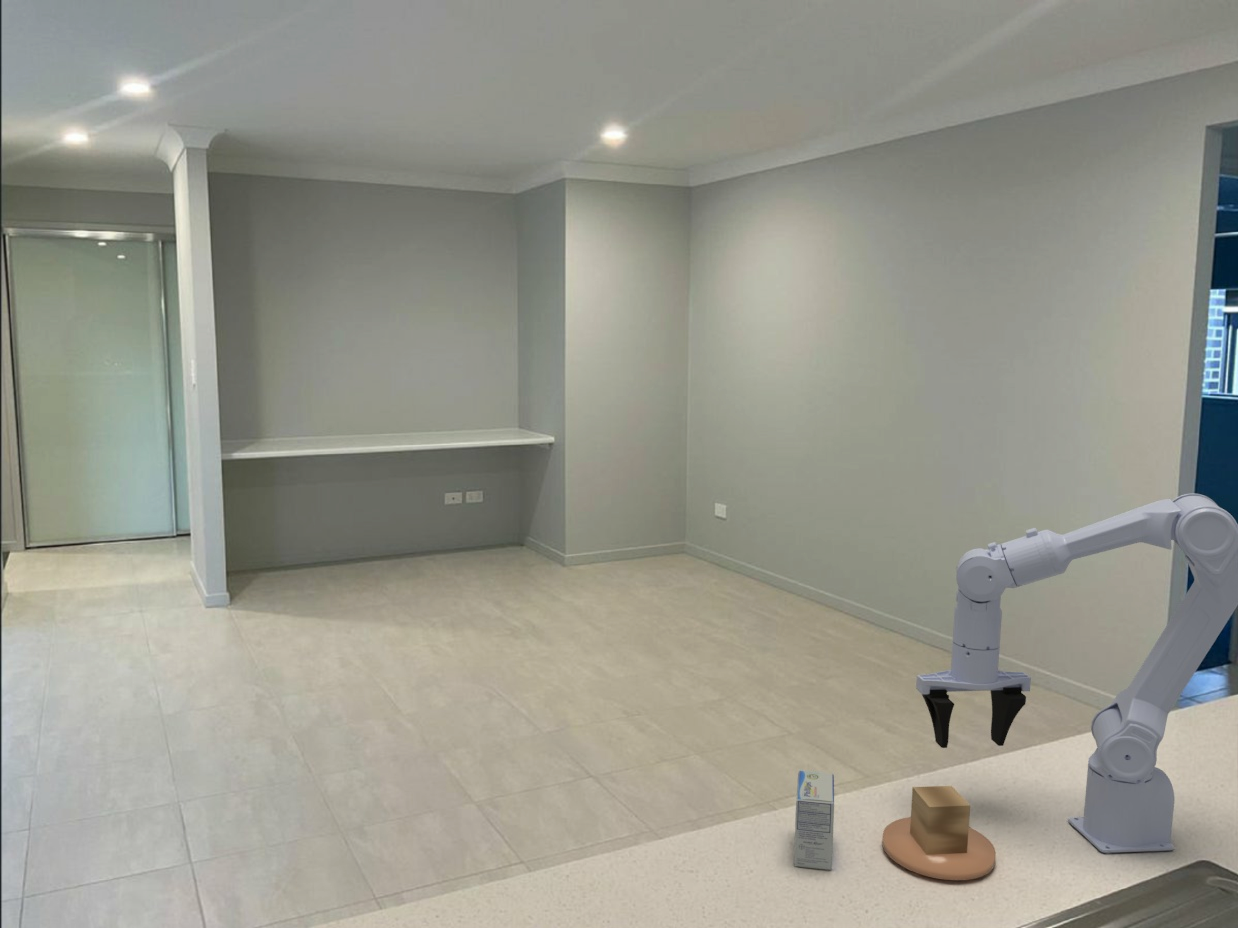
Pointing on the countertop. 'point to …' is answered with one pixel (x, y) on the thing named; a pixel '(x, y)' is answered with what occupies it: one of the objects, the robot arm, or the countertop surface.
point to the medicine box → (814, 820)
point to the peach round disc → (938, 865)
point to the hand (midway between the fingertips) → (969, 743)
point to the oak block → (939, 820)
